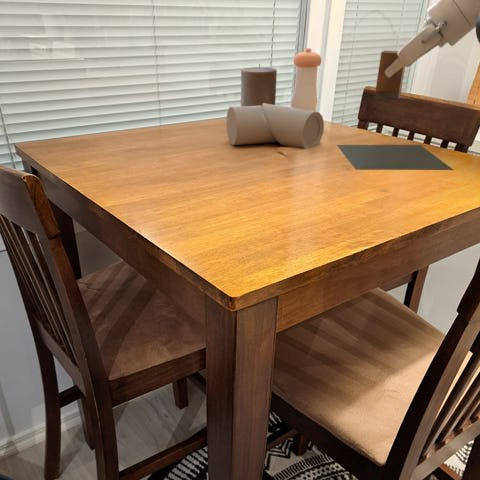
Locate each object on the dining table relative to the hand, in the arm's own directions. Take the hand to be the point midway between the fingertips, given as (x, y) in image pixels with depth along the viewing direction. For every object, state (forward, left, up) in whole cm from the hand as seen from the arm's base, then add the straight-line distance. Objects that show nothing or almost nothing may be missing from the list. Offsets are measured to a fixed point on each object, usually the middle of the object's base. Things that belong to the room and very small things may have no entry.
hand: (388, 73), depth 107 cm
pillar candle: (+26, -29, -16) cm, 43 cm away
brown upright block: (0, 0, -5) cm, 5 cm away
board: (-1, +9, -16) cm, 19 cm away
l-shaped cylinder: (+23, -4, -16) cm, 29 cm away
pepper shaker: (+14, -23, -16) cm, 32 cm away
